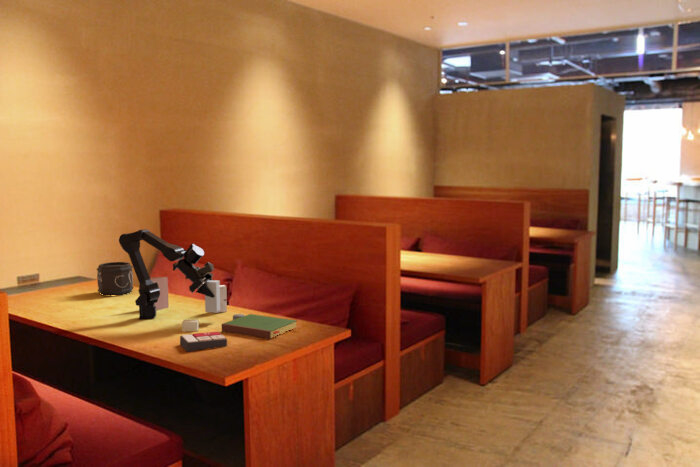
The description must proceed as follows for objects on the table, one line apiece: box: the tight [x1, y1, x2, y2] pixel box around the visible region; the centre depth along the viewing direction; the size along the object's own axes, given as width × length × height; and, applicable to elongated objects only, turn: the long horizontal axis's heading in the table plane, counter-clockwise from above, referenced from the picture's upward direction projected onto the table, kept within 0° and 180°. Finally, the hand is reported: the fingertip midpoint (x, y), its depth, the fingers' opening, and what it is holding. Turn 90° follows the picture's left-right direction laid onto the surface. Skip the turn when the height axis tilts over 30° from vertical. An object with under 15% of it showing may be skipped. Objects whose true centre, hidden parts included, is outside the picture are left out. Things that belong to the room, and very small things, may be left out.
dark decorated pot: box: [96, 261, 135, 296], centre depth 325 cm, size 18×18×16 cm
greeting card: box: [150, 276, 170, 311], centre depth 286 cm, size 11×7×15 cm, turn 108°
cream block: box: [181, 318, 200, 332], centre depth 251 cm, size 6×4×4 cm, turn 94°
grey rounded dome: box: [232, 313, 246, 320], centre depth 263 cm, size 5×5×3 cm
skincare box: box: [213, 284, 228, 314], centre depth 282 cm, size 6×4×12 cm
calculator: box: [179, 331, 228, 353], centre depth 229 cm, size 11×4×15 cm
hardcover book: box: [221, 313, 297, 340], centre depth 250 cm, size 25×19×4 cm
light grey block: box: [204, 279, 221, 313], centre depth 263 cm, size 5×5×13 cm
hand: (215, 295), depth 262 cm, fingers closed on light grey block, 5 cm apart
